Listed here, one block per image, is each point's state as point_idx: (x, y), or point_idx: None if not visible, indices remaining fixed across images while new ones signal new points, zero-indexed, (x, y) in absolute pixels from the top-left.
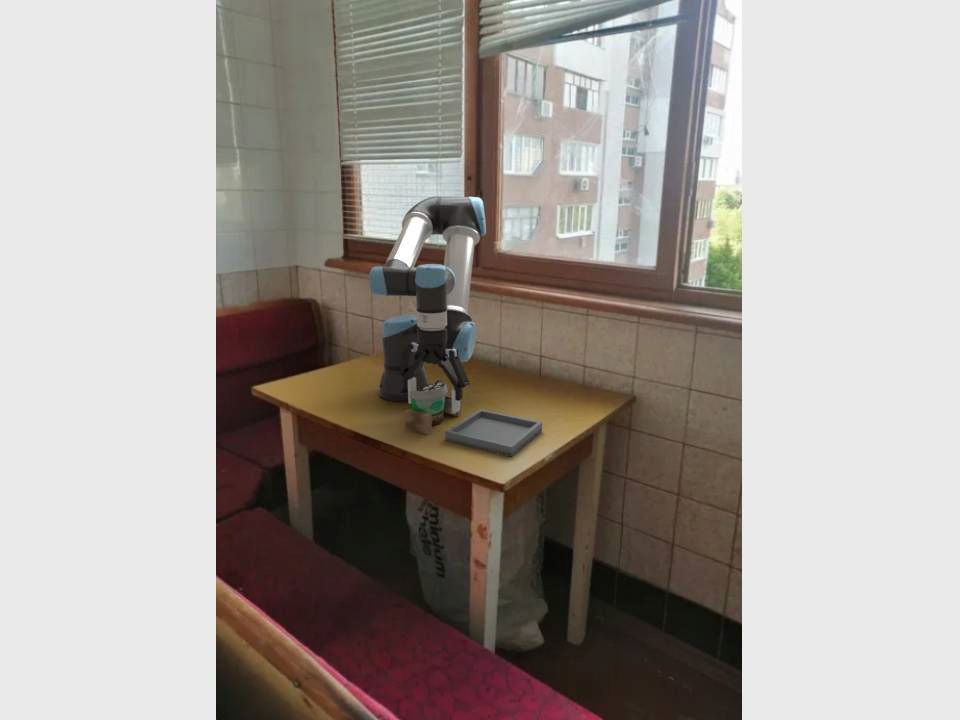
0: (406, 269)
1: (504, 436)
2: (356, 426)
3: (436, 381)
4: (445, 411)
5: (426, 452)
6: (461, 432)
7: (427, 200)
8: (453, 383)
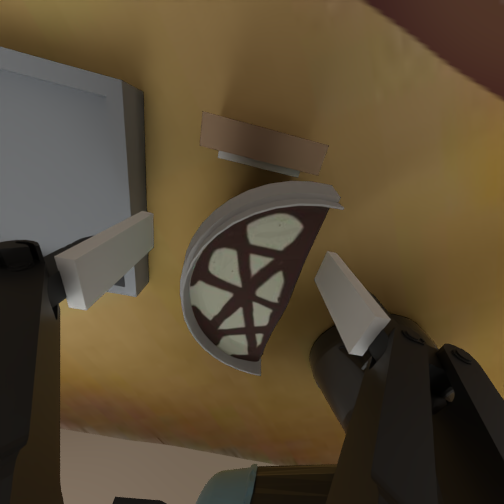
0: None
1: None
2: (486, 119)
3: (260, 361)
4: None
5: None
6: (111, 151)
7: None
8: (22, 282)
